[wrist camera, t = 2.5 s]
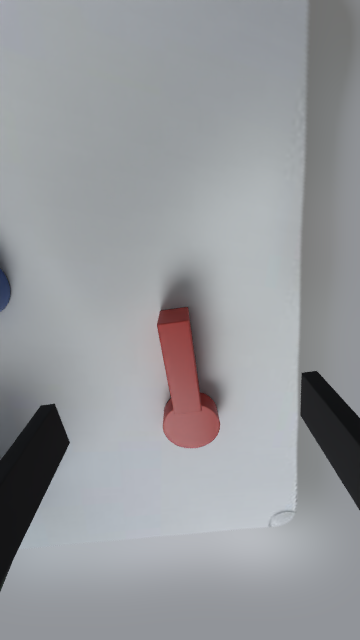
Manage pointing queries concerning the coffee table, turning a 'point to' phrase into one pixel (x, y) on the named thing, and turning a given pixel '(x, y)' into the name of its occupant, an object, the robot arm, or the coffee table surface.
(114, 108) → the coffee table surface
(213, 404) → the red spoon
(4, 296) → the blue disc-ended stick
